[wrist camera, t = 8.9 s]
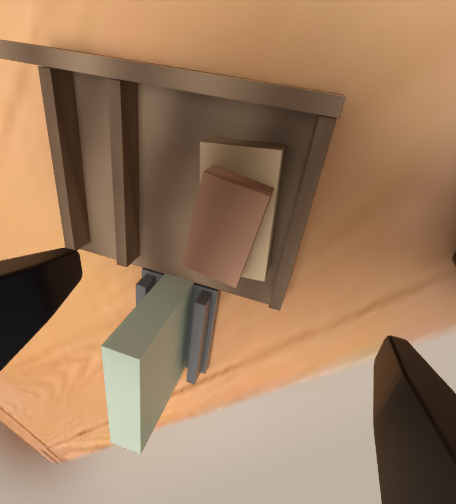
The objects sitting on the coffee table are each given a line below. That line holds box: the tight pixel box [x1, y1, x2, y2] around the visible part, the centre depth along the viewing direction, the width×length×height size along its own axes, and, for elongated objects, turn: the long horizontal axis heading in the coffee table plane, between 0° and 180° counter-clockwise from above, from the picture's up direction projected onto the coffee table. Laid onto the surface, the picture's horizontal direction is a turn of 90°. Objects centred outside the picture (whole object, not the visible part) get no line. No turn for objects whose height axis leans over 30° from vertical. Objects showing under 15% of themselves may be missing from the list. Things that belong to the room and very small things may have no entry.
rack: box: [0, 40, 346, 311], centre depth 19 cm, size 18×14×5 cm
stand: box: [136, 268, 220, 384], centre depth 26 cm, size 6×10×2 cm
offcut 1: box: [200, 137, 287, 281], centre depth 19 cm, size 4×8×2 cm, turn 176°
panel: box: [101, 273, 194, 455], centre depth 23 cm, size 2×10×8 cm, turn 171°
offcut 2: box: [181, 165, 275, 288], centre depth 17 cm, size 4×6×2 cm, turn 163°
